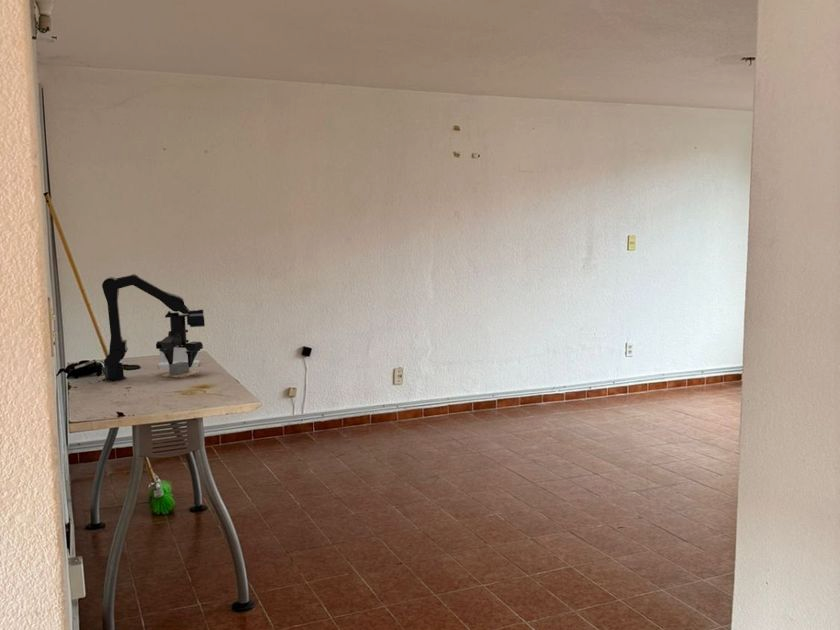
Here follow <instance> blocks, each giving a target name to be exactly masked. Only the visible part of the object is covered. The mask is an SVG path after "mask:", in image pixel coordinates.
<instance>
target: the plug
mask: <svg viewBox="0 0 840 630" xmlns="http://www.w3.org/2000/svg"><path fill="white" fill-rule="evenodd" d="M190 368H191V367H189V365H188V362H181V361H180V362H177V363H174V364H170V365H169V368H168V369H169V370H168V371H169V372H168V373H170V375H181V374H184V373H187V372H189V371H190Z"/></svg>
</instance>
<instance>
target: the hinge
mask: <svg viewBox="0 0 840 630" xmlns="http://www.w3.org/2000/svg"><path fill="white" fill-rule="evenodd" d="M181 346H183V345H181ZM185 351H187V350H186V348H177V347H174V352H173V364H174V363H177V362H180V361H181V362H188V355H187V353H186V352H185ZM158 356H159V357H158V369H159V370H162V369H163V370H165V368H167V369H169V363H168V361H167V358H166V356H165V354H164V353H163V352H161V351H159V355H158ZM200 364H201V361H200V356H199V352H198V353H197V355H196V357H195V359H194V361H193V364H192V366H195V367H199V366H200ZM198 365H199V366H198Z"/></svg>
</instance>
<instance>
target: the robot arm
mask: <svg viewBox="0 0 840 630" xmlns="http://www.w3.org/2000/svg"><path fill="white" fill-rule="evenodd" d="M130 286H134V287H135V288H137V289H140V290H141V291H143V292H144V293H146V294H149V296H152V297H154V298H155V299H157V300H159V301H160V302H161V303H162V304H163V305H165V307H167V308H168V309H169V310H167V313H166V314H165V315H164V318H169V325H170V330H169V331H168V333H167V336H166V337H164V338H163V339H161V340H159V341H157V342H156V344H155V349H156V350H158V351H159V352H160V351H161V352H163V353H164V354H165V356H166V358H167V361H168V363H169V365H170V364H173V352H174V347H177V348H186V350H187V351H185V352H186V353H187V355H188V365H189V368H192V367H191V366H192V364H193V361H194V359H195V357H196V355H197V353H198V354H199V352H201V350H203V348H204V345H203V343H202V341H191V342H190V341H189V339H187V333H189V329H186V325H187V326H189V327H190V328H200V327H205V323H206V322H205V315H204V309H194V310H192V309H191V310H190V309H189V307H187V305H186V304H185V300H184V298H183V297H182V296H180V295H177V294H174V293H170V292H168V291H165V290H163V289H161V288H160V287H158V286H156V285H154V284H152V283H150V282H149V281H147V280H145V279H143V278H141V277H140V276H139V275H137V274H136V273H135V274H130V275H126V276H120V277H113V276H109V277H107V278H105V279H104V281H103V282H102V284H101V288H102V291H103V294H104V298H105V299H106V302H107V311H108V312H107V313H108V314H107V315H108V321H109V331H110V332H109V333H110V342H109V350H108V355H107V356H106V357H105V358H104V360H103V367H104V368H103V369H104V370H103V371H104V377H103V378H102V379H103V380H102V381H108V380H112V381H111V382H116V380H117V381H119V380H123V379H127V376H124V375H125V374H124V367H123V363H122V362H121V361H122V360H123V359H124V358H125V356H126V354H127V352H128V350H129V348H128V346H127V345H128V344H127V342H128V340H127V339H124V338H123V335H122V330H121V329H122V328H121V320H120V318H121V317H120V310H119V309H120V308H119V293H120V289H123V288H127V287H130ZM171 311H172V312H171ZM180 313H181V314H180ZM186 322H187V323H186ZM181 345H183V346H181Z"/></svg>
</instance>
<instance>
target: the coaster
mask: <svg viewBox="0 0 840 630" xmlns="http://www.w3.org/2000/svg"><path fill="white" fill-rule="evenodd" d="M196 373H197V374H199V373H200V371H198V370H189V372H187V373H184V374H181V375H170V372H167V373H164V374H162V375H161V376H162V377H165V378H166V377H167V378H168V377H169V378H178V377H180V378H179V379H181V378H182V379H184V378H187V376H188V377H191V376H193V374H194V375H196ZM190 375H191V376H190Z"/></svg>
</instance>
